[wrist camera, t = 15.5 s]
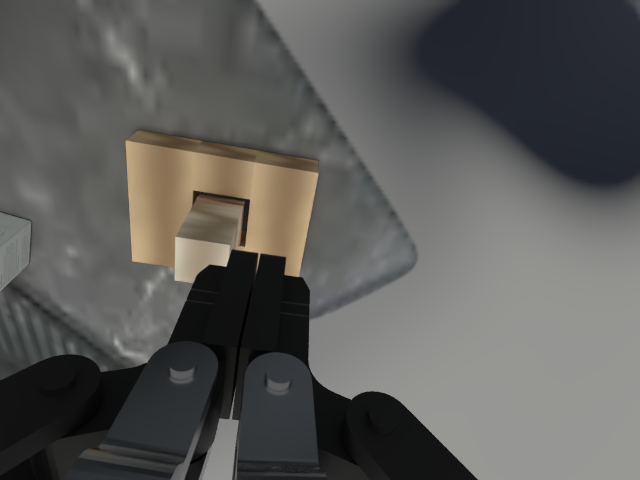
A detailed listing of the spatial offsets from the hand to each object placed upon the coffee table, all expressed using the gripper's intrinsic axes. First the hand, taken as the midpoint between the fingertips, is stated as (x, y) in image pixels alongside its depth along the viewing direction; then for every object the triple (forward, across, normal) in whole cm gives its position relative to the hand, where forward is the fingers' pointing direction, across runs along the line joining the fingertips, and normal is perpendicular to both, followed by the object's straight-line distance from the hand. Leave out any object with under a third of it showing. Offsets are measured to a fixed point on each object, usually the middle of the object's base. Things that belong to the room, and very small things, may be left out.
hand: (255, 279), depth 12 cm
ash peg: (+27, +5, +12) cm, 30 cm away
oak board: (+27, +5, +12) cm, 30 cm away
